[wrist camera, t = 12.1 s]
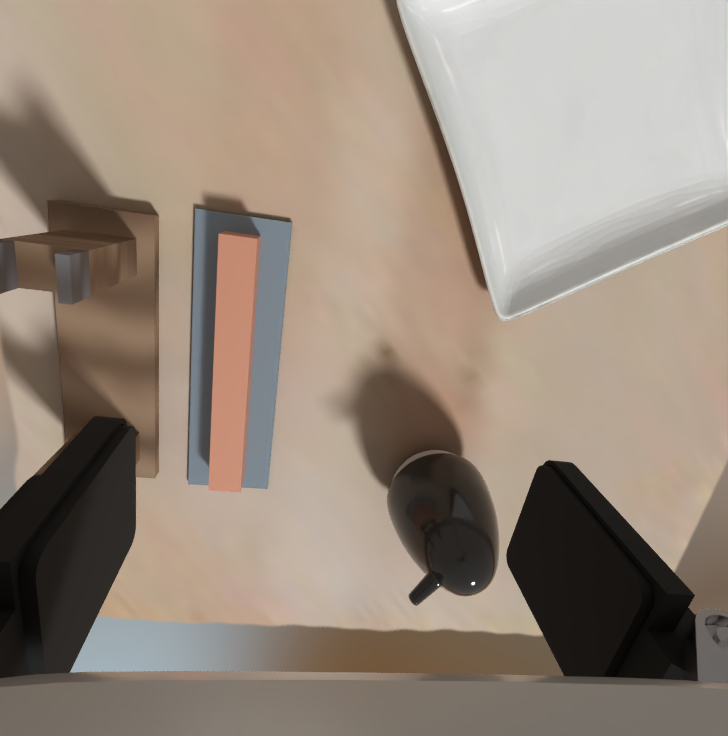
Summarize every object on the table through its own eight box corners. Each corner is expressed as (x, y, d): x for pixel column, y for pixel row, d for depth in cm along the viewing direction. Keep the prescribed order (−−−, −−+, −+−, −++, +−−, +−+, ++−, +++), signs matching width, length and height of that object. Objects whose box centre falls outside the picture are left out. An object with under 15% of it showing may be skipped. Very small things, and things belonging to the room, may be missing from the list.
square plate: (486, 317, 46) (501, 328, 42) (382, 2, 36) (390, -20, 32) (748, 202, 44) (787, 203, 41) (716, -156, 35) (763, -197, 31)
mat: (196, 208, 39) (195, 208, 39) (292, 222, 40) (291, 222, 40) (189, 481, 48) (188, 484, 48) (267, 486, 49) (267, 488, 49)
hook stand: (55, 200, 38) (-61, 202, 26) (158, 215, 39) (92, 224, 27) (73, 466, 46) (-8, 559, 34) (158, 471, 47) (108, 563, 35)
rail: (225, 230, 39) (218, 233, 37) (261, 235, 40) (257, 238, 37) (214, 472, 47) (208, 490, 45) (244, 474, 48) (240, 492, 45)
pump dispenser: (363, 464, 49) (384, 572, 35) (450, 419, 49) (508, 511, 35) (404, 529, 53) (439, 651, 39) (486, 489, 52) (551, 598, 38)
